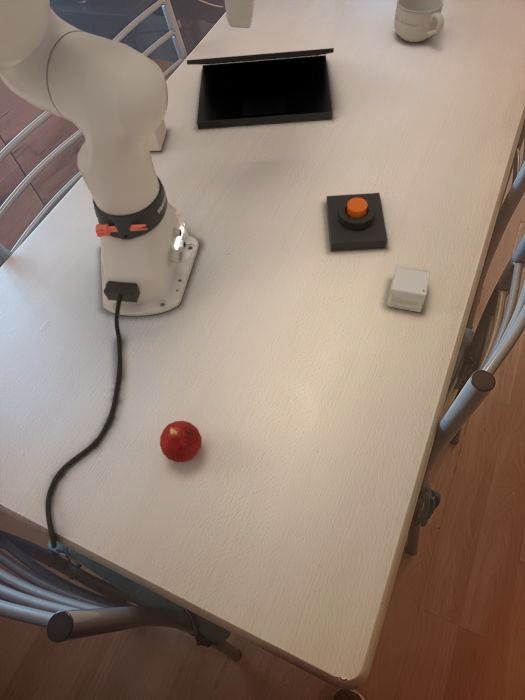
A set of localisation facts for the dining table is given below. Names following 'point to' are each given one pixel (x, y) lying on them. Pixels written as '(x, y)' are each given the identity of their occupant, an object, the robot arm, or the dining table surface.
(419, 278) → the small box
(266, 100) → the laptop
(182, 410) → the dining table surface
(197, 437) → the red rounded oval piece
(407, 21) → the teacup
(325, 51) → the laptop screen
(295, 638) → the dining table surface
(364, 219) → the switch block
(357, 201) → the switch button
